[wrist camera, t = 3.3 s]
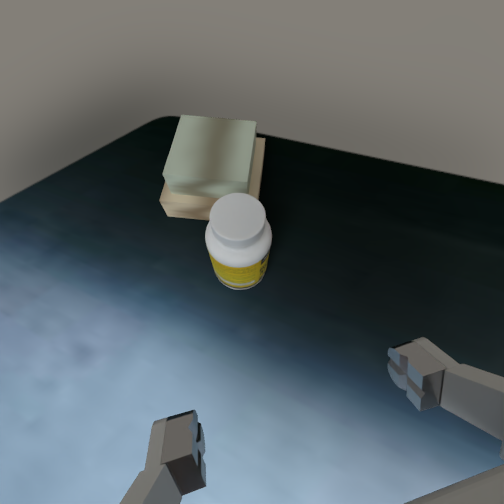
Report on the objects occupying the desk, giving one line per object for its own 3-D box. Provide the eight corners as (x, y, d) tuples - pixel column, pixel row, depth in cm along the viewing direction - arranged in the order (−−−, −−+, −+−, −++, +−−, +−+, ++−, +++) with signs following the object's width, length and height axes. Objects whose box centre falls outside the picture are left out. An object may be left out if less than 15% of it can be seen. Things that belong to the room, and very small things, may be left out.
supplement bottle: (267, 291, 26) (276, 251, 17) (213, 290, 26) (193, 250, 17) (266, 242, 28) (274, 184, 19) (216, 242, 28) (201, 183, 19)
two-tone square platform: (167, 216, 29) (149, 181, 24) (186, 150, 33) (174, 107, 28) (255, 225, 29) (256, 192, 23) (263, 157, 33) (266, 115, 28)
